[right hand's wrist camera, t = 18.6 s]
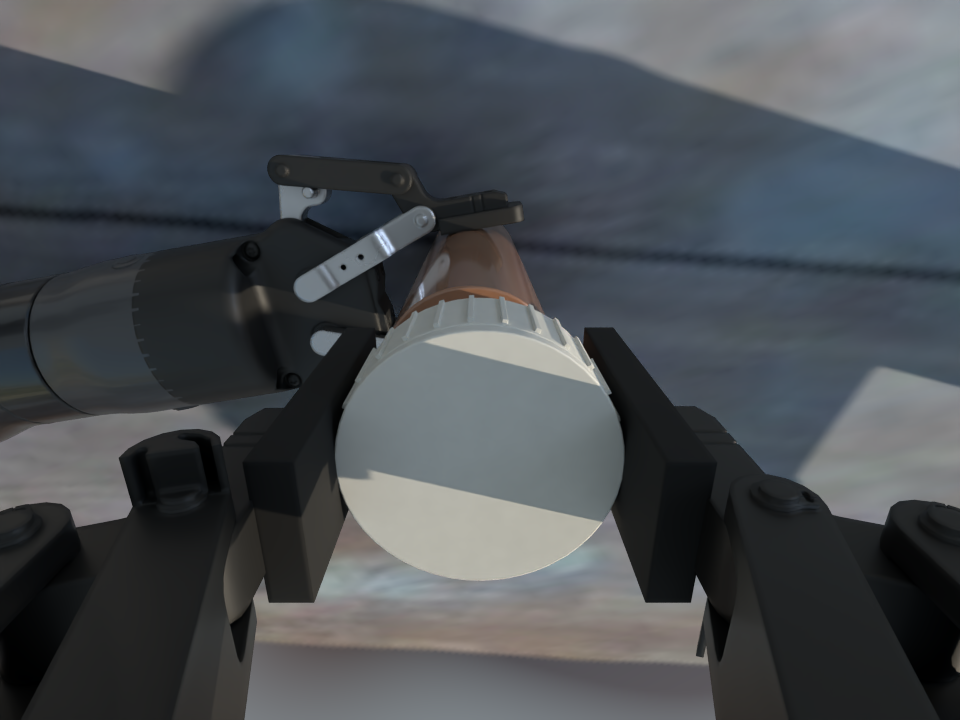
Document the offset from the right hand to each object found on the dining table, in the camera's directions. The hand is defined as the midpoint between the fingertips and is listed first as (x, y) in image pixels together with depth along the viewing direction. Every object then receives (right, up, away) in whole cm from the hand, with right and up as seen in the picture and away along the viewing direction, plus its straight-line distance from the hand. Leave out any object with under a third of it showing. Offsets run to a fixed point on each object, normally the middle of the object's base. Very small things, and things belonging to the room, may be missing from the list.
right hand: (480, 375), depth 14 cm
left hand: (+2, +5, +10) cm, 12 cm away
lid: (0, -1, -4) cm, 4 cm away
